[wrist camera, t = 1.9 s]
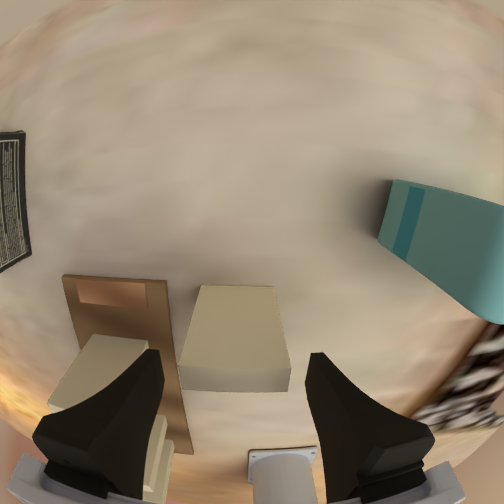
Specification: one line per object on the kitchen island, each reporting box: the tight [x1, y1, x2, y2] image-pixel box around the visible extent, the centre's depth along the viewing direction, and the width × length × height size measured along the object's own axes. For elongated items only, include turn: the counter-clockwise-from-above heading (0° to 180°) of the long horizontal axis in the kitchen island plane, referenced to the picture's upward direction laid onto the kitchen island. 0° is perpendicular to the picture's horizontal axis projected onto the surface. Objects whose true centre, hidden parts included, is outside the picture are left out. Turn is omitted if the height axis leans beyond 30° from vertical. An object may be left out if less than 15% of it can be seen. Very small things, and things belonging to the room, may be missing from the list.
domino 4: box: [178, 285, 291, 392], centre depth 16 cm, size 2×5×8 cm, turn 88°
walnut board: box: [62, 275, 194, 455], centre depth 22 cm, size 22×9×1 cm, turn 178°
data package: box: [378, 180, 504, 324], centre depth 13 cm, size 12×4×12 cm, turn 78°
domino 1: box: [47, 334, 149, 413], centre depth 17 cm, size 2×5×8 cm, turn 88°
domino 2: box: [143, 415, 168, 492], centre depth 20 cm, size 2×5×8 cm, turn 88°
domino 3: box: [143, 439, 175, 504], centre depth 21 cm, size 2×5×8 cm, turn 88°
